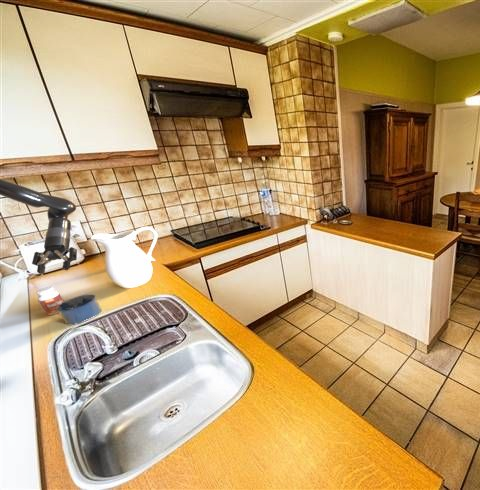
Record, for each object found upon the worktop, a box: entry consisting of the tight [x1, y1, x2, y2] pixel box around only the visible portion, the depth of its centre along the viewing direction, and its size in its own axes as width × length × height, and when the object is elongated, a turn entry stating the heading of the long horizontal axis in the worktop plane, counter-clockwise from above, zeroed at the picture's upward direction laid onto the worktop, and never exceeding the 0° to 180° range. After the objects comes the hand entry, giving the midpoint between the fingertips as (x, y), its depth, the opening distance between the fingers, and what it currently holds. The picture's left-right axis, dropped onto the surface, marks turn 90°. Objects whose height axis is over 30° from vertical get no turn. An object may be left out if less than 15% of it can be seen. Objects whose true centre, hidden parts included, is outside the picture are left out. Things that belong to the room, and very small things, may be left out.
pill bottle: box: [35, 286, 65, 316], centre depth 114 cm, size 6×6×11 cm
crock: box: [56, 293, 103, 325], centre depth 111 cm, size 12×12×7 cm
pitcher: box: [89, 226, 159, 289], centre depth 133 cm, size 24×17×28 cm
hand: (53, 271), depth 118 cm, fingers open, 8 cm apart
